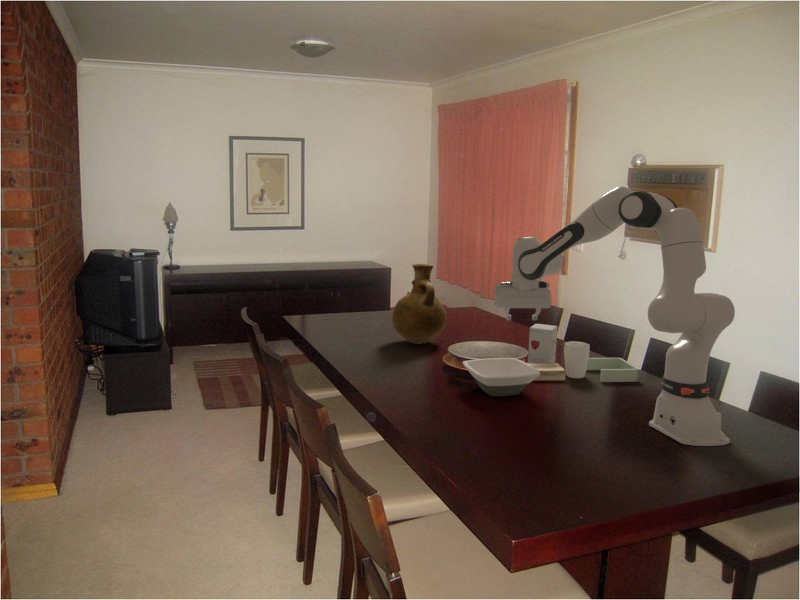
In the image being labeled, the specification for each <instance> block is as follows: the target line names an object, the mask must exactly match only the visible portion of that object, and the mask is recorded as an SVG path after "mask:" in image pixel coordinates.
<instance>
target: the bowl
mask: <svg viewBox="0 0 800 600" xmlns="http://www.w3.org/2000/svg"><path fill="white" fill-rule="evenodd" d="M462 363H463V364H462V365H463V366H464V367H465V369H466V370H467V371H468V372H469V374H471V376H472V377H473V378H474V380H475V381H476V383H477V384H478V386H479V387H480V389H481V390H482V391H483V392H484V393H485V394H487V395H488V396H491V397H507V396H508V397H510V396H517V395H519V394H520V393H522V391H523V390H525V388H526V387H527V386H528V385H529V384H530V383H532V382H533V381H535V380H534V379H535V378H537V377H538V376H539V375H540V374H541V373H540V372H539V371H538V370H537V369H535V368H534V367H532V366H530V365H529V364H527V363H528V362H525V361H524V360H521V359H518V358H516V357H494V358H493V357H492V358H490V357H489V358H478V359H470V360H469V359H468V360H462Z"/></svg>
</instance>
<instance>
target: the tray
mask: <svg viewBox="0 0 800 600" xmlns="http://www.w3.org/2000/svg"><path fill="white" fill-rule="evenodd" d="M640 370H641V369H639V368H638V367H637V366H635V365H633V364H632V363H630V362H628V361H626V360H625V359H624V358H622V357H589V358H588V363H587V368H586V371H600V374H599V375H600V376H599V382H600V383H627V382H628V383H633V382H635V383H637V382H638V383H639V380H640Z"/></svg>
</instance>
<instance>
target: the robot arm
mask: <svg viewBox="0 0 800 600" xmlns="http://www.w3.org/2000/svg"><path fill="white" fill-rule="evenodd" d="M623 224H627V226H630V227H633V228H638V229H641V230H643V231H649V232H657V234H658V236H659V240H660V249H661V257H662V258H661V259H662V266H663V267H662V268H663V269H662V270H663V275H662V276H663V277H662V278H663V279H662V283H661V287H660V290H659V292H658V294H657V295H656V296H655V298H653V299H652V300H651V302H650V304H649V305H648V308H647V320H648V322H649V324H650V326H651V327H652V328H653V329H654V330H655V331H657V332H662V333H668V334H680V336H679V338H678V339H677V340H676V341H675V342H674V343H673V344H671V345H670V346H669V347H668V349H667V351H666V353H665V364H664V374H663V376H662V379H661V389H662V390H661V392H660V394H659V395H658V396H657V397H656V402H655V407H654V413H653V418H652V419H651V420H649V422H648V426H649V427H652V428H654V429H655V430H656V431H658V432H660V433H662V434H664V435H665V436H668V437H669V438H671V439H673V440H674V441H677V442H678V443H680V444H682V445H689V446H696V447H717V446H725V445H729V444H730V443H731V440H730V438H729V437H728V436H727V435H726V434H725V433H724V432H723V431H722V413H720V412H717V410H716V409H715V406H714V405H713V403H712V401H711V399H710V398H709V395H710V393H711V388H709V384H708V381H707V374H708V366H709V361H710V356H711V352H712V350H713V347H714V346H715V343H716V341H717V339H718V338H719V337H720V335H721V334H722V332H724V330H726V328H728V327H729V326H730V325H731V324H732V323H733V322H734V319H735V314H736V313H735V312H736V311H735V305H734V303H733V302H732V300H731V299H730V298H729V297H728V296H726V295H722V294H718V293H712V292H702V293H701V292H699V293H696V292H695V287H696V283H697V280H698V279H700V278H701V277H702V276H703V275H704V274H705V272H706V270H707V261H706V256H705V248H704V242H703V241H704V240H703V236H702V231H701V228H700V227H701V226H700V224H699V221H698V218H697V216H696V214H695V212H694V211H693V210H692V209H690V208H687V207H678V205H677V204H676V203H675V202H674V200H673V199H670V198H669V197H665V196H662V195H660V194H659V193H655V192H650V191H645V190H634V191H633V190H632V189H630V188H628V187H626V186H618V187H615V188H613V189H611V190H609V191H608V192H606V193H604V194H602V196H600V197H598V199H596V200H595V201H593V202H592V203H591V204H590V205H589V206H587V208H585V209H584V210H582V212H581V213H580V214H579V215H577V216H576V217H575V218H574V219H572V221H570V222H569V223H568V224H567V225H566V226H565V227H562V229H561V230H559V231H558V232H556V233H555V234H553V235H552V236H550V238H548V239H547V240H545V241H544V242H541V240H540V239H539V238H538V237H536V236H528V237H527V236H525V237H520V238H517V239H516V240H515V242H514V245H513V248H512V249H513V250H512V265H513V266H512V267H513V268H512V270H511V279H510V281H505V282H503V281H499V282H498V283H496V284H495V285H494V293H495V295H494V302H493V303H494V306H495V307H496V308H498V309H503V311H504V314H505V317H506V321H512V317H513V315H511V314H509V311H510V309H535V313H534V314H532V315H531V320H532V321H538V316H539V315H540V313H541V312H542V309H550V308H551V307H552V301H553V299H552V291H551V290H550V289H549V288H551V286H550V285H551V284H550V282H549V281H547V280H544V279H542V278H547V277H551V276H555V275H558V274H559V273H560V272H561V271H562V270H563V268H564V264H565V260H564V256H563V253H565V252H567V251H568V250H569V249H572V248H574V247H576V246H580V245H582V244H587V243H591V242H595V241H599V240H600V239H603V238H605V237H606V236H608V235H611V233H613V232H614V231H615V230H617V229H618V228H620V227H621V226H622V225H623Z"/></svg>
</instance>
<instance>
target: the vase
mask: <svg viewBox="0 0 800 600" xmlns="http://www.w3.org/2000/svg"><path fill="white" fill-rule="evenodd" d="M412 268H413V271H414V278H413V280H412V281H411V285H412V288H411V291H408V292H407V293H406V295H404V296H402V297H401V298H400V299H398V301H397V302H396V304H395V306H394V308H393V310H392V315H391V321H392V327H393V329H395V331H396V332H397V333H398V334H399V335H400V336H401V337H402V338H403V339H405V340H406V341H408V342H410V343H411V344H414V345H422V344H423V343H424V344H427V343H428V342H431V341H432V340H434V339H436V337H438V336H439V335H440V334H441V333H442V331H444V329H445V328H446V325H447V320H448V319H447V311H446V309H445V306H444V305H443V303H442V302H441V300H439V299H438V298H437V297H436V295H435V294H436V292H435V286H434V285H433V284H432V282H431V275H432V270H433V268H434V265H433V264H428V263H427V264H425V263H415V264H414V263H413V264H412ZM424 344H423V345H424Z"/></svg>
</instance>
